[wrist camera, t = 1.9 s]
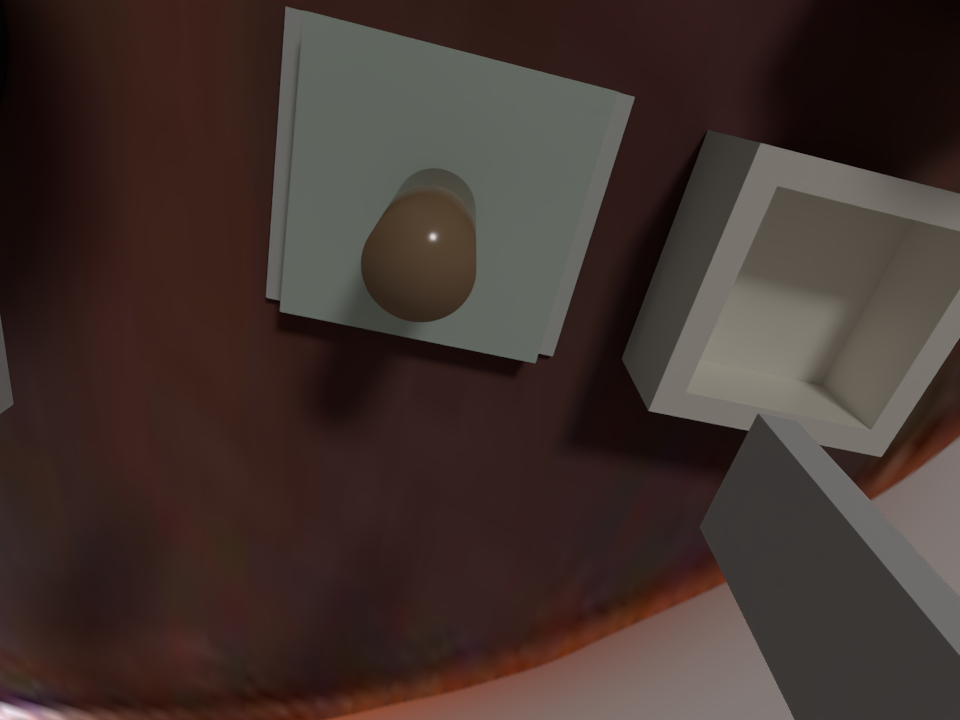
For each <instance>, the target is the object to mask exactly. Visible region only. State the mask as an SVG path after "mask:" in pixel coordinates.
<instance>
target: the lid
mask: <svg viewBox="0 0 960 720" xmlns="http://www.w3.org/2000/svg"><path fill="white" fill-rule="evenodd" d="M617 94H618V92H617V91H613V90H609V89H605V88H601V87H598V86H594V85H590V84H586V83H582V82H578V81H574V80H571V79H567V78H563V77H559V76H555V75H551V74H547V73H544V72H540V71H536V70H532V69H528V68H524V67H520V66H516V65H513V64H509V63H505V62H501V61H497V60H493V59H489V58H486V57H482V56H478V55H474V54H470V53H466V52H462V51H459V50H455V49H451V48H447V47H443V46H439V45H435V44H431V43H428V42H424V41H420V40H416V39H412V38H408V37H404V36H401V35H397V34H393V33H389V32H385V31H381V30H377V29H374V28H370V27H366V26H362V25H358V24H354V23H350V22H346V21H343V20H339V19H335V18H331V17H327V16H323V15H319V14H316V13H312V12H308V11H304V14H303V27H302V39H301V52H300V64H299V77H298V89H297V102H296V114H295V127H294V139H293V152H292V164H291V177H290V189H289V202H288V214H287V227H286V239H285V251H284V264H283V276H282V289H281V301H280V312H284V313H289V314H294V315H299V316H304V317H309V318H314V319H319V320H324V321H329V322H334V323H338V324H343V325H348V326H353V327H358V328H363V329H368V330H373V331H378V332H383V333H388V334H393V335H398V336H403V337H408V338H413V339H418V340H422V341H427V342H432V343H437V344H442V345H447V346H452V347H457V348H462V349H467V350H472V351H477V352H482V353H487V354H492V355H497V356H502V357H506V358H511V359H516V360H521V361H526V362H531V363H536V360H537V357H538V354H539V350H540V347H541V344H542V340H543V337H544V334H545V331H546V327H547V324H548V321H549V317H550V314H551V311H552V308H553V304H554V301H555V298H556V294H557V291H558V288H559V285H560V281H561V278H562V275H563V271H564V268H565V265H566V261H567V258H568V255H569V252H570V248H571V245H572V242H573V238H574V235H575V232H576V229H577V225H578V222H579V219H580V215H581V212H582V209H583V206H584V202H585V199H586V196H587V192H588V189H589V186H590V183H591V179H592V176H593V173H594V169H595V166H596V163H597V160H598V156H599V153H600V150H601V146H602V143H603V140H604V137H605V133H606V130H607V127H608V123H609V120H610V117H611V114H612V110H613V107H614V104H615V100H616V97H617Z"/></svg>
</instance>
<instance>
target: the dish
mask: <svg viewBox="0 0 960 720" xmlns="http://www.w3.org/2000/svg"><path fill="white" fill-rule="evenodd" d="M959 338H960V194H958V193H954V192H950V191H946V190H942V189H939V188H935V187H931V186H927V185H923V184H919V183H915V182H911V181H907V180H903V179H900V178H896V177H892V176H888V175H884V174H880V173H876V172H872V171H868V170H864V169H860V168H857V167H853V166H849V165H845V164H841V163H837V162H833V161H829V160H825V159H821V158H817V157H814V156H810V155H806V154H802V153H798V152H794V151H790V150H786V149H782V148H778V147H775V146H771V145H767V144H763V143H759V142H755V141H751V140H747V139H743V138H739V137H735V136H731V135H727V134H723V133H719V132H715V131H711V130H708V131H707V134H706V136H705V139H704V142H703V144H702V147H701V150H700V152H699V155H698V158H697V160H696V163H695V166H694V168H693V171H692V173H691V176H690V179H689V181H688V184H687V187H686V189H685V192H684V195H683V197H682V200H681V203H680V205H679V208H678V211H677V213H676V216H675V219H674V221H673V224H672V227H671V229H670V232H669V234H668V237H667V240H666V242H665V245H664V248H663V250H662V253H661V256H660V258H659V261H658V264H657V266H656V269H655V272H654V274H653V277H652V280H651V282H650V285H649V288H648V290H647V293H646V296H645V298H644V301H643V303H642V306H641V309H640V311H639V314H638V317H637V319H636V322H635V325H634V327H633V330H632V333H631V335H630V338H629V341H628V343H627V346H626V349H625V351H624V354H623V357H622V360H623V362H624V364H625V366H626V368H627V370H628V372H629V374H630V376H631V378H632V380H633V382H634V384H635V386H636V388H637V390H638V392H639V393H640V395H641V397H642V399H643V401H644V403H645V405H646V407H647V409H648V411H651V412H656V413H661V414H666V415H671V416H676V417H681V418H686V419H691V420H697V421H702V422H707V423H712V424H717V425H722V426H727V427H732V428H737V429H742V430H747V431H749V430H750V428H751V426H752V424H753V422H754V420H755V418H756V416H757V414H758V413H761V414H766V415H770V416H775V417H780V418H785V419H790V420H795V421H797V422H798V423H799V424H800V425H801V426H802V427H803V428H804V429H805V430H806V431H807V433H808V434H809V435H810V436H811V437H812V438H813V439H814V440H815V441H816V442H817V443H818V444H819V445H823V446H828V447H833V448H838V449H843V450H848V451H854V452H859V453H864V454H869V455H874V456H879V457H882V455H883V454H884V452H885V451H886V449H887V448H888V446H889V445H890V443H891V442H892V440H893V439H894V437H895V436H896V434H897V432H898V431H899V429H900V428H901V426H902V425H903V423H904V422H905V420H906V419H907V417H908V416H909V414H910V413H911V411H912V410H913V408H914V407H915V405H916V403H917V402H918V400H919V399H920V397H921V396H922V394H923V393H924V391H925V390H926V388H927V387H928V385H929V384H930V382H931V381H932V379H933V378H934V376H935V374H936V373H937V371H938V370H939V368H940V367H941V365H942V364H943V362H944V361H945V359H946V358H947V356H948V355H949V353H950V352H951V350H952V349H953V347H954V345H955V344H956V342H957V341H958V339H959Z"/></svg>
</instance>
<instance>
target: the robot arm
mask: <svg viewBox="0 0 960 720" xmlns="http://www.w3.org/2000/svg"><path fill="white" fill-rule="evenodd" d="M6 57H7V53H6V31H5V21H4V15H3V8H2V3H1V0H0V98H1V93H2V89H3V85H4V78H5V72H6ZM12 405H13V398H12V391H11V384H10V378H9V371H8V364H7V358H6V351H5V344H4V337H3V331H2V324H1V317H0V413H2V412H3V411H5V410H6V409H7V408H9V407H10V406H12ZM700 529H701V531H702V533H703V535H704V537H705V539H706V541H707V543H708V545H709V547H710V549H711V551H712V553H713V555H714V557H715V559H716V561H717V563H718V565H719V567H720V569H721V571H722V573H723V575H724V577H725V579H726V581H727V583H728V585H729V587H730V589H731V591H732V594H733V596H734V598H735V599H736V602H737V604H738V606H739V608H740V610H741V612H742V614H743V616H744V618H745V620H746V622H747V624H748V626H749V628H750V630H751V632H752V634H753V636H754V638H755V640H756V642H757V644H758V646H759V648H760V650H761V652H762V654H763V656H764V658H765V660H766V662H767V664H768V667H769V669H770V671H771V672H772V674H773V677H774V679H775V681H776V683H777V685H778V687H779V689H780V691H781V693H782V695H783V697H784V699H785V701H786V703H787V705H788V707H789V709H790V711H791V713H792V715H793V717H794V719H795V720H960V597H959V596H958V595H957V594H956V593H955V591H954V590H952V588H951V587H950V586H949V585H948V584H947V583H946V582H945V581H944V580H943V579H942V577H940V575H939V574H938V573H937V572H936V571H935V570H934V569H933V568H932V567H931V566H930V564H929V563H928V562H927V561H926V560H925V559H924V558H923V557H922V556H921V555H920V554H919V553H918V552H917V550H915V548H914V547H913V546H912V545H911V544H910V543H909V542H908V541H907V540H906V539H905V537H904V536H903V535H902V534H900V532H899V531H898V530H897V529H896V528H895V527H894V526H893V524H892V523H891V522H890V521H889V520H888V519H887V518H886V517H885V516H884V515H883V514H882V513H881V512H880V510H879V509H878V508H877V507H876V506H875V505H874V504H873V503H872V502H871V501H870V500H869V498H868V497H867V496H866V495H865V494H864V493H863V492H862V491H861V490H860V489H859V488H858V487H857V486H856V484H855V483H854V482H853V481H852V480H851V479H850V478H849V477H848V476H847V475H846V474H845V473H844V471H843V470H842V469H841V468H840V467H839V466H838V465H837V464H836V463H835V462H834V461H833V460H832V458H831V457H830V456H829V455H828V454H827V453H826V452H825V451H824V450H823V449H822V448H821V447H820V446H819V444H818V443H817V442H816V441H815V440H814V439H813V438H812V437H811V436H810V435H809V434H808V433H807V431H806V430H805V429H804V428H803V427H802V426H801V425H800V424H799V423H798V422H797V421H795V420H790V419H785V418H780V417H775V416H770V415H766V414H761V413H758V414H757V416H756V418H755V420H754V422H753V424H752V426H751V428H750V430H749V431H748V433H747V435H746V437H745V439H744V441H743V443H742V445H741V447H740V449H739V451H738V453H737V455H736V457H735V459H734V461H733V463H732V465H731V466H730V468H729V470H728V472H727V474H726V476H725V478H724V480H723V482H722V484H721V486H720V488H719V490H718V492H717V494H716V496H715V498H714V500H713V501H712V503H711V505H710V507H709V509H708V511H707V513H706V515H705V517H704V519H703V521H702V523H701V525H700Z"/></svg>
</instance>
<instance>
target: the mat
mask: <svg viewBox="0 0 960 720" xmlns="http://www.w3.org/2000/svg"><path fill="white" fill-rule="evenodd" d="M303 14H304V11H301V10H297V9H293V8H289V7H286V8H285V23H284V37H283V52H282V67H281V82H280V96H279V111H278V126H277V140H276V155H275V170H274V185H273V199H272V214H271V229H270V243H269V258H268V273H267V288H266V298H270V299H275V300H279V301H281V289H282V276H283V264H284V251H285V239H286V227H287V214H288V202H289V189H290V177H291V164H292V152H293V139H294V127H295V114H296V102H297V89H298V77H299V64H300V52H301V39H302V27H303ZM634 98H635V97H633V96H629V95H626V94H622V93H618V94H617V97H616V100H615V104H614V107H613V110H612V114H611V117H610V120H609V123H608V127H607V130H606V133H605V137H604V140H603V143H602V146H601V150H600V153H599V156H598V160H597V163H596V166H595V169H594V173H593V176H592V179H591V183H590V186H589V189H588V192H587V196H586V199H585V202H584V206H583V209H582V212H581V215H580V219H579V222H578V225H577V229H576V232H575V235H574V238H573V242H572V245H571V248H570V252H569V255H568V258H567V261H566V265H565V268H564V271H563V275H562V278H561V281H560V285H559V288H558V291H557V294H556V298H555V301H554V304H553V308H552V311H551V314H550V317H549V321H548V324H547V327H546V331H545V334H544V337H543V340H542V344H541V347H540V350H539V354H544V355H548V356H553V354H554V351H555V347H556V344H557V341H558V338H559V335H560V332H561V329H562V325H563V322H564V319H565V316H566V313H567V310H568V307H569V303H570V300H571V297H572V294H573V291H574V288H575V284H576V281H577V278H578V275H579V272H580V269H581V266H582V262H583V259H584V256H585V253H586V250H587V247H588V243H589V240H590V237H591V234H592V231H593V228H594V225H595V221H596V218H597V215H598V212H599V209H600V206H601V202H602V199H603V196H604V193H605V190H606V187H607V184H608V180H609V177H610V174H611V171H612V168H613V165H614V161H615V158H616V155H617V152H618V149H619V146H620V143H621V139H622V136H623V133H624V130H625V127H626V124H627V120H628V117H629V114H630V111H631V108H632V105H633V102H634Z"/></svg>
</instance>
